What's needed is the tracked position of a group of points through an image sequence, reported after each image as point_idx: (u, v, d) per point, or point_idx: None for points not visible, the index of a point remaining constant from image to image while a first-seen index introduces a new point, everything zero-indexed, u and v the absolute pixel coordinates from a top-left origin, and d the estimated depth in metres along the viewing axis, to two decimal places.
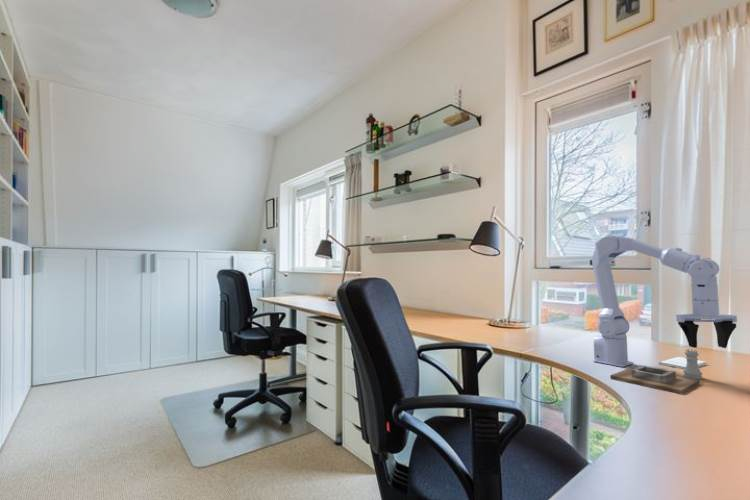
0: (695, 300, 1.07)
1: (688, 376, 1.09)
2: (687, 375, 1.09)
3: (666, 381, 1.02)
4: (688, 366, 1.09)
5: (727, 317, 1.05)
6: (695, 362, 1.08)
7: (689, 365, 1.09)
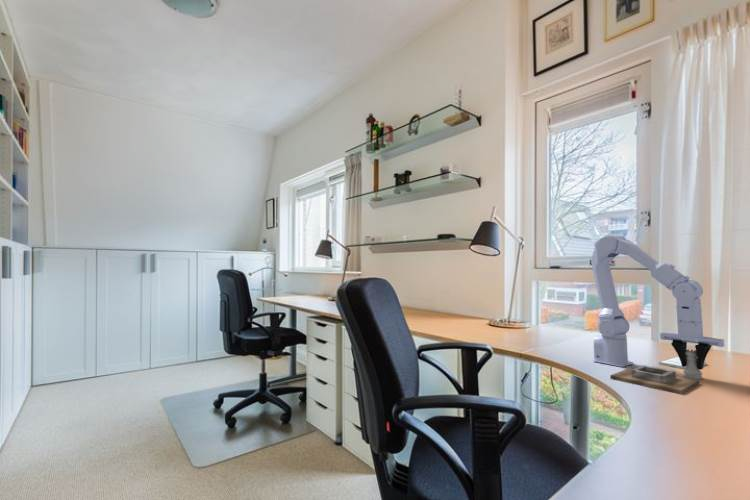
0: None
1: (688, 376, 1.09)
2: (687, 375, 1.09)
3: (666, 381, 1.02)
4: (688, 366, 1.09)
5: (708, 340, 1.05)
6: (695, 362, 1.08)
7: (689, 365, 1.09)
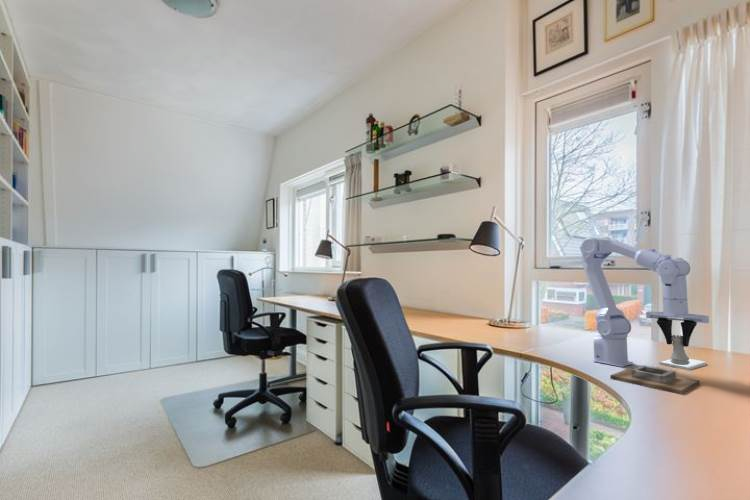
0: None
1: (675, 362, 1.08)
2: (674, 361, 1.09)
3: (666, 381, 1.02)
4: (674, 351, 1.09)
5: (693, 317, 1.05)
6: (681, 347, 1.08)
7: (675, 351, 1.09)
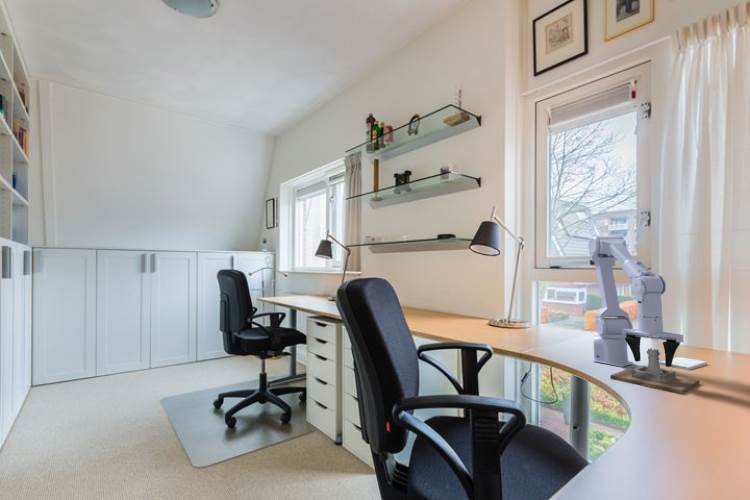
0: None
1: None
2: None
3: (666, 381, 1.02)
4: (649, 365, 1.07)
5: (667, 336, 1.03)
6: (655, 361, 1.06)
7: (650, 364, 1.07)
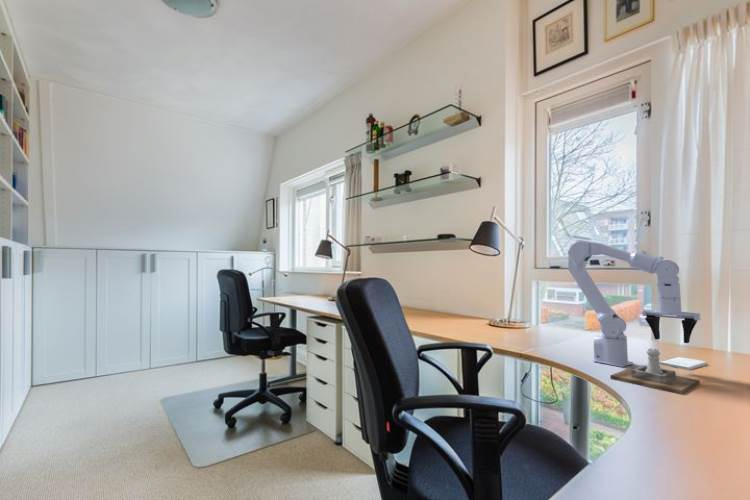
0: None
1: None
2: None
3: (666, 381, 1.02)
4: (649, 365, 1.07)
5: (685, 314, 1.13)
6: (655, 361, 1.06)
7: (650, 364, 1.07)
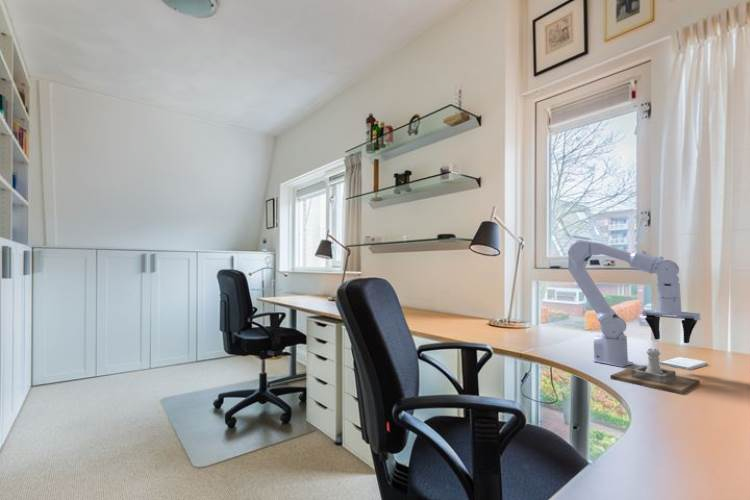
0: None
1: None
2: None
3: (666, 381, 1.02)
4: (649, 365, 1.07)
5: (685, 314, 1.13)
6: (655, 361, 1.06)
7: (650, 364, 1.07)
